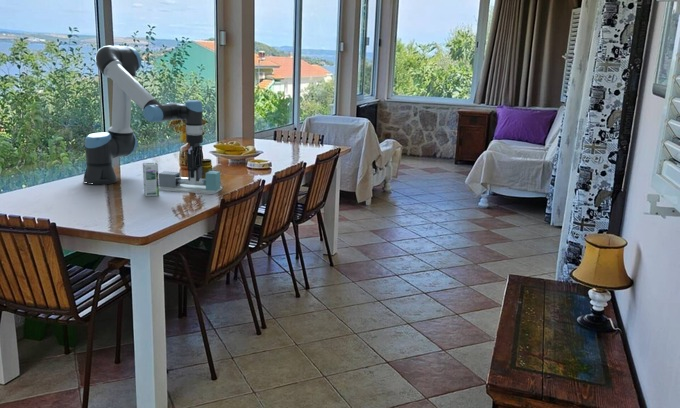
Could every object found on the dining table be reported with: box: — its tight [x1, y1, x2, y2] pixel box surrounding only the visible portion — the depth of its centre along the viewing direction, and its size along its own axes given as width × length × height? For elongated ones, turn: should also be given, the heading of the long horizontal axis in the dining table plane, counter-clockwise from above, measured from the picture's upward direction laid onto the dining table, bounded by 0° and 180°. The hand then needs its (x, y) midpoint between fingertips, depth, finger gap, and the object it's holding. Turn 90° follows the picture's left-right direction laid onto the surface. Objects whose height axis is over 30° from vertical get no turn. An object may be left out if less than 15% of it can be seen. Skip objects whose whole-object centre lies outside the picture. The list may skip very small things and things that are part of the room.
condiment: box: [202, 158, 213, 179], centre depth 294 cm, size 7×8×12 cm
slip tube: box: [176, 166, 206, 186], centre depth 280 cm, size 22×4×9 cm, turn 82°
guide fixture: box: [158, 170, 223, 195], centre depth 281 cm, size 28×12×9 cm, turn 82°
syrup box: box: [142, 162, 160, 197], centre depth 266 cm, size 6×6×14 cm
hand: (195, 183), depth 281 cm, fingers closed on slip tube, 4 cm apart
